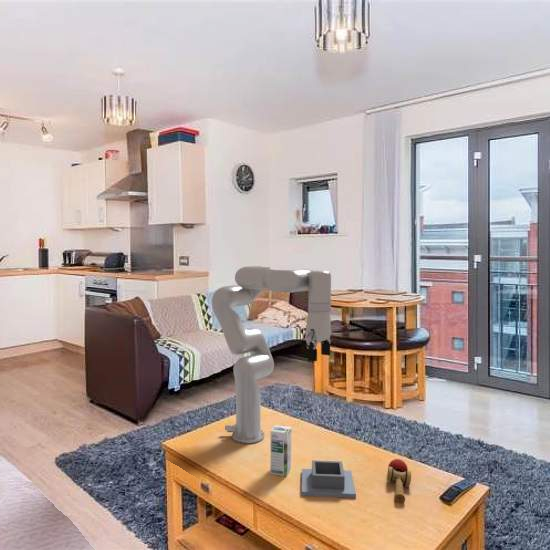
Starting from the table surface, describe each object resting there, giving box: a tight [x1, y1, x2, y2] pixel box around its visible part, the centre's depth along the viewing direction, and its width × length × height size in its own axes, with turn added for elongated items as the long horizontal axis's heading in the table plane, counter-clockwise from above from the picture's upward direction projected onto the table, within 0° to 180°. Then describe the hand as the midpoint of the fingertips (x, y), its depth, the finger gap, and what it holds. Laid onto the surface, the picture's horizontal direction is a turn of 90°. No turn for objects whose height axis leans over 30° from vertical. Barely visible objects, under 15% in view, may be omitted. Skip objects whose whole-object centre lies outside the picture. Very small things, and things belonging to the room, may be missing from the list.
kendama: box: [386, 458, 412, 504], centre depth 139 cm, size 8×6×18 cm
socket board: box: [301, 459, 357, 499], centre depth 140 cm, size 16×14×5 cm
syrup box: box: [269, 424, 292, 477], centre depth 148 cm, size 6×6×14 cm
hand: (319, 357), depth 152 cm, fingers open, 9 cm apart
